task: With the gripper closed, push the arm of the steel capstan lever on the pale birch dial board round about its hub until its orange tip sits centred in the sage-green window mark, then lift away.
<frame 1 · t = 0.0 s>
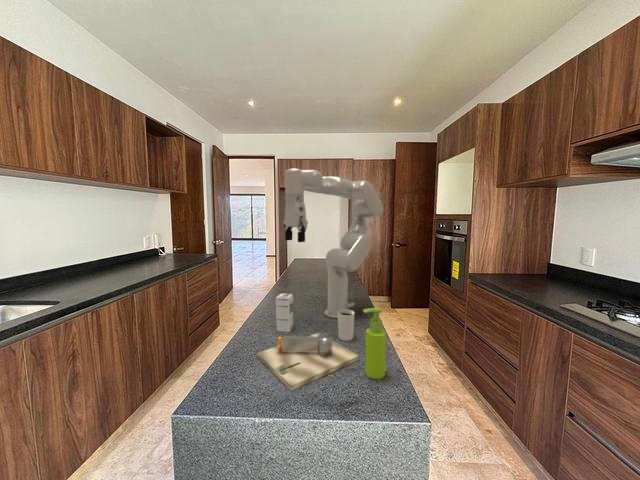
hand: (294, 241, 113), 37 cm above the counter, tool pointing down, fingers open, 9 cm apart
soap dispenser: (373, 374, 82), on the counter
dial board: (307, 358, 90), on the counter
white cup: (345, 337, 106), on the counter
syrup box: (285, 329, 114), on the counter
capstan lever: (304, 344, 91), point 4 cm above the counter, hinge at -40.0°
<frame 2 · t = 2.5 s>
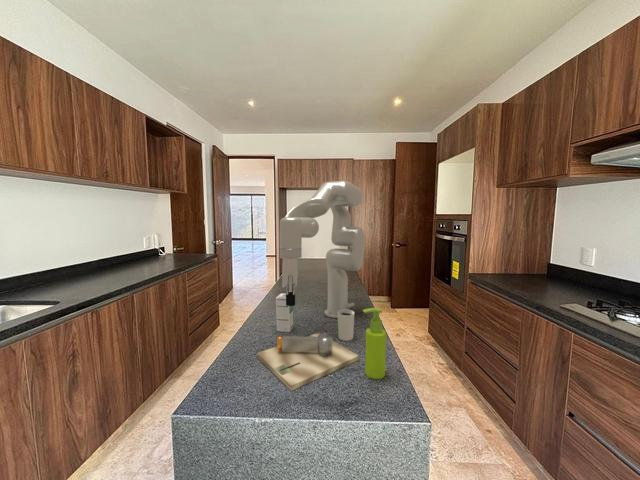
hand: (290, 305, 95), 16 cm above the counter, tool pointing down, fingers closed
nothing on the counter moved.
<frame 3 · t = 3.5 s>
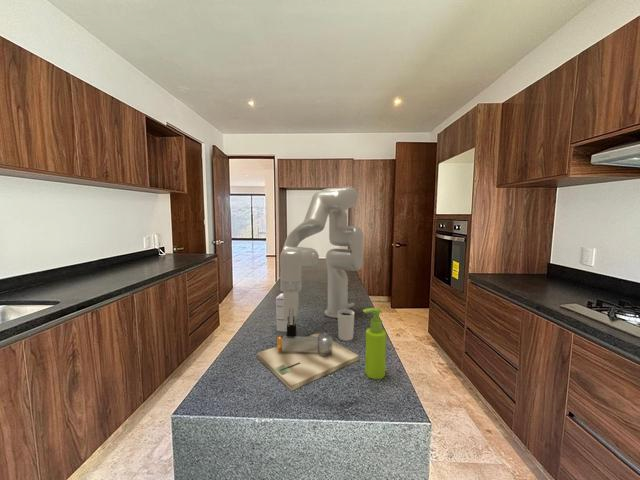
hand: (291, 335, 97), 5 cm above the counter, tool pointing down, fingers closed
nothing on the counter moved.
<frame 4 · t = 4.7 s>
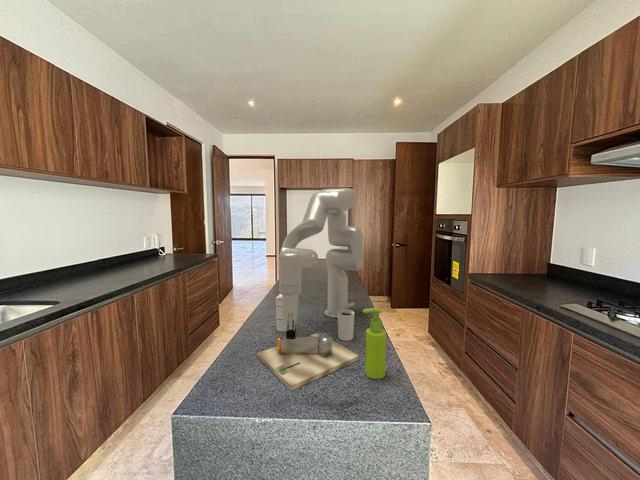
hand: (291, 340, 93), 5 cm above the counter, tool pointing down, fingers closed
capstan lever: (304, 345, 90), point 4 cm above the counter, hinge at -36.4°, touching gripper
everything else where it was.
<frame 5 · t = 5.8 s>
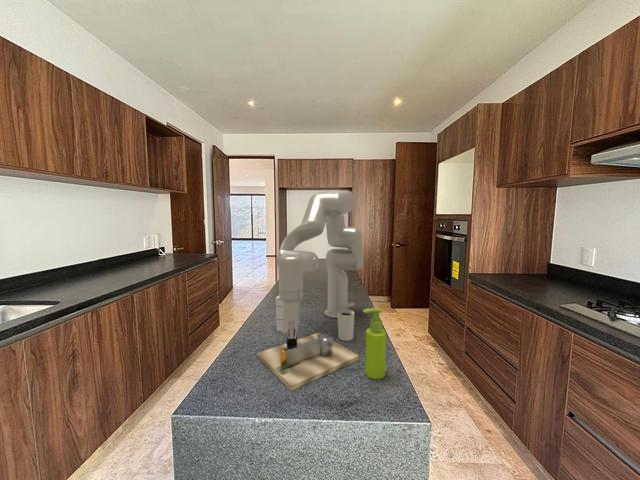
hand: (292, 349, 87), 5 cm above the counter, tool pointing down, fingers closed
capstan lever: (307, 350, 87), point 4 cm above the counter, hinge at -5.6°, touching gripper
everything else where it was.
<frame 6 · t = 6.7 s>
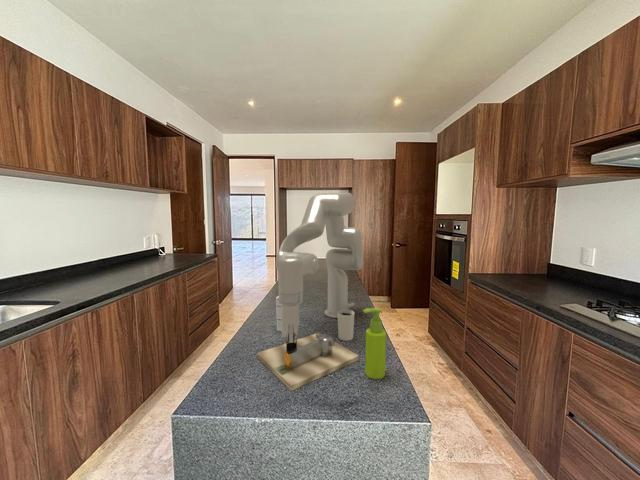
hand: (291, 353, 85), 4 cm above the counter, tool pointing down, fingers closed
capstan lever: (309, 351, 86), point 4 cm above the counter, hinge at 4.3°, touching gripper
everything else where it was.
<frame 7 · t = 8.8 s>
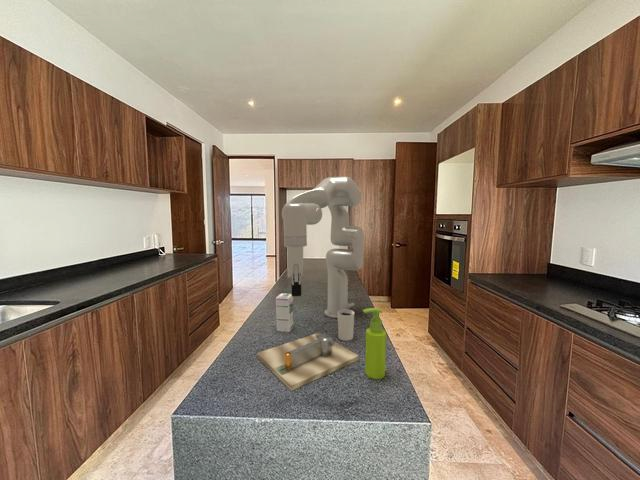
hand: (296, 295, 91), 21 cm above the counter, tool pointing down, fingers closed
capstan lever: (309, 351, 86), point 4 cm above the counter, hinge at 4.6°
everything else where it was.
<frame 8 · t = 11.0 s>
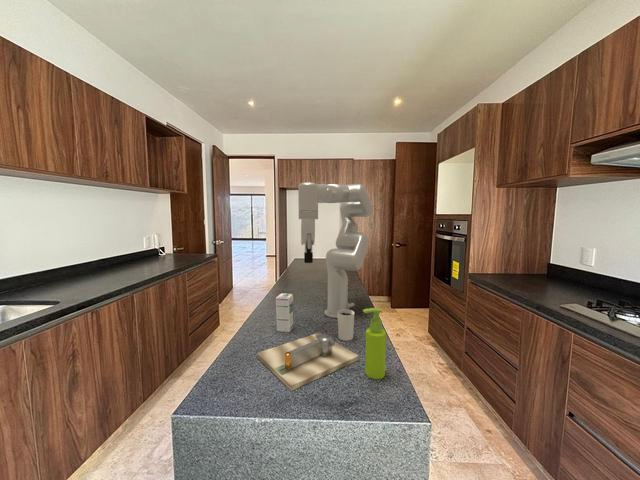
hand: (308, 262, 106), 29 cm above the counter, tool pointing down, fingers closed
nothing on the counter moved.
at the end: capstan lever at +5° (first picture: -40°); soap dispenser moved 0.2 cm from its start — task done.
